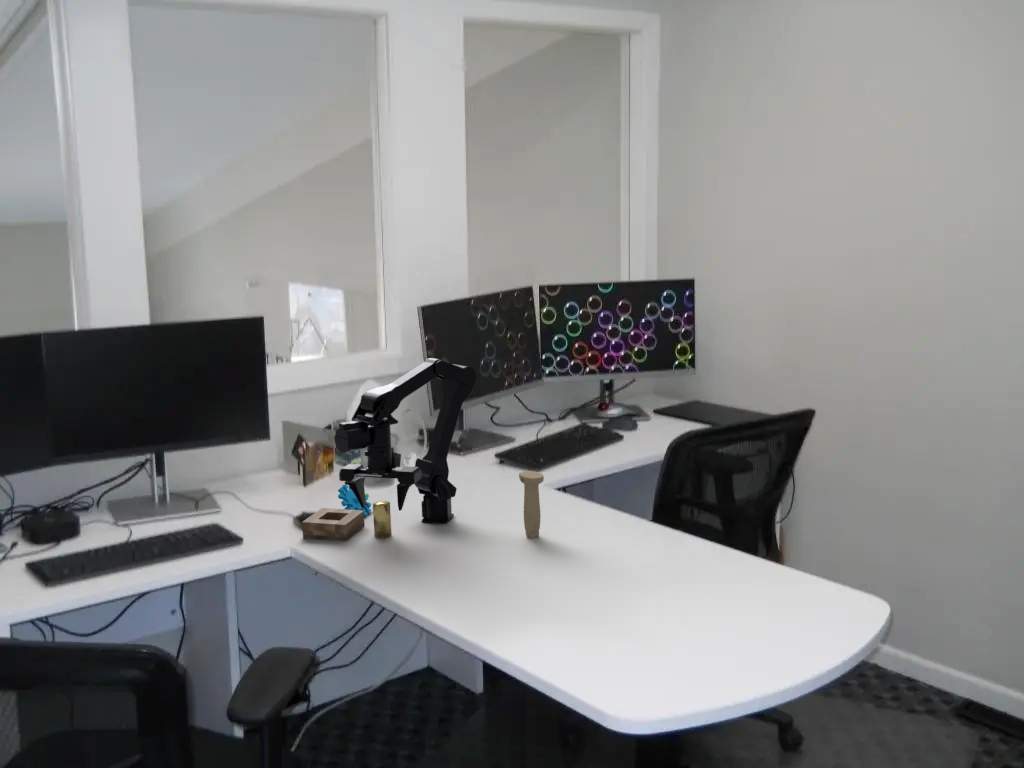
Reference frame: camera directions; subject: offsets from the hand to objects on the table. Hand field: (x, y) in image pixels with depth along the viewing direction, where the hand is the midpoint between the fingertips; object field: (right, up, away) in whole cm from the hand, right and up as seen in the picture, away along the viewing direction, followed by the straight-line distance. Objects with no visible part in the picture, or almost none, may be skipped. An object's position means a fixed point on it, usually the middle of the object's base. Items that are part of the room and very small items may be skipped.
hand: (382, 509), depth 236 cm
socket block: (-12, -6, +4) cm, 14 cm away
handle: (+35, -6, -2) cm, 36 cm away
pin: (0, -6, +1) cm, 7 cm away
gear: (-9, -4, +18) cm, 20 cm away
